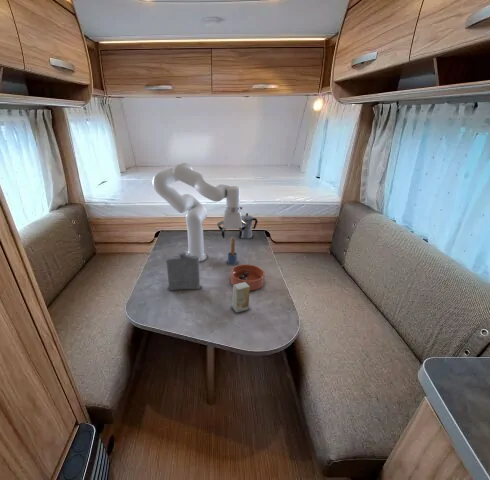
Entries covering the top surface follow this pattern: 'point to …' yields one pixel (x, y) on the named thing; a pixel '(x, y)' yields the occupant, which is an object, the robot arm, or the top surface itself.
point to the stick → (232, 246)
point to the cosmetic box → (241, 296)
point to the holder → (232, 258)
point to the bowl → (253, 277)
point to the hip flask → (183, 272)
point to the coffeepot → (248, 225)
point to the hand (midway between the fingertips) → (231, 237)
